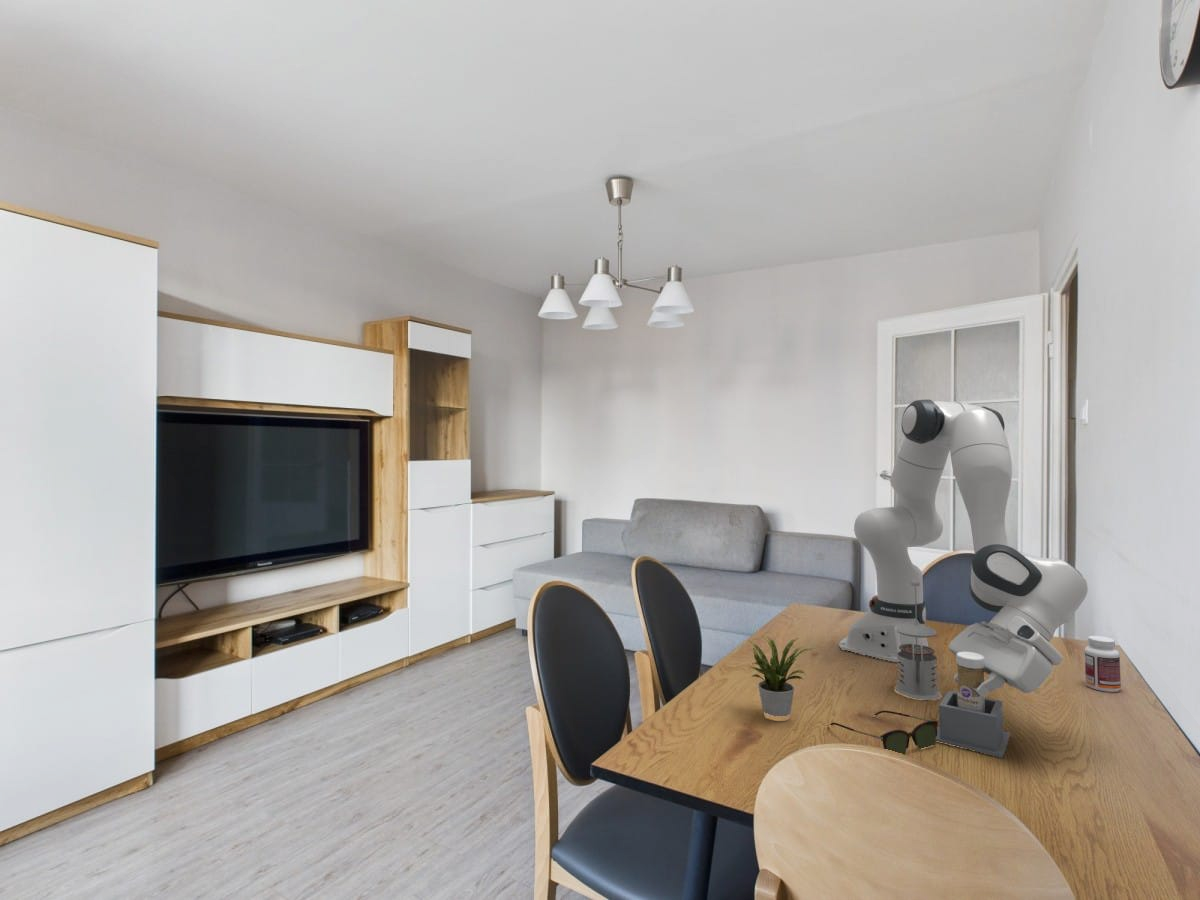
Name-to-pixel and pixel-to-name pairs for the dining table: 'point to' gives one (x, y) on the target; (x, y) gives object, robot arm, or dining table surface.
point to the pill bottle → (1102, 664)
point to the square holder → (973, 726)
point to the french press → (917, 662)
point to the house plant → (776, 679)
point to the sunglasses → (905, 735)
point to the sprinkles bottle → (970, 680)
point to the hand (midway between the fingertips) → (967, 687)
